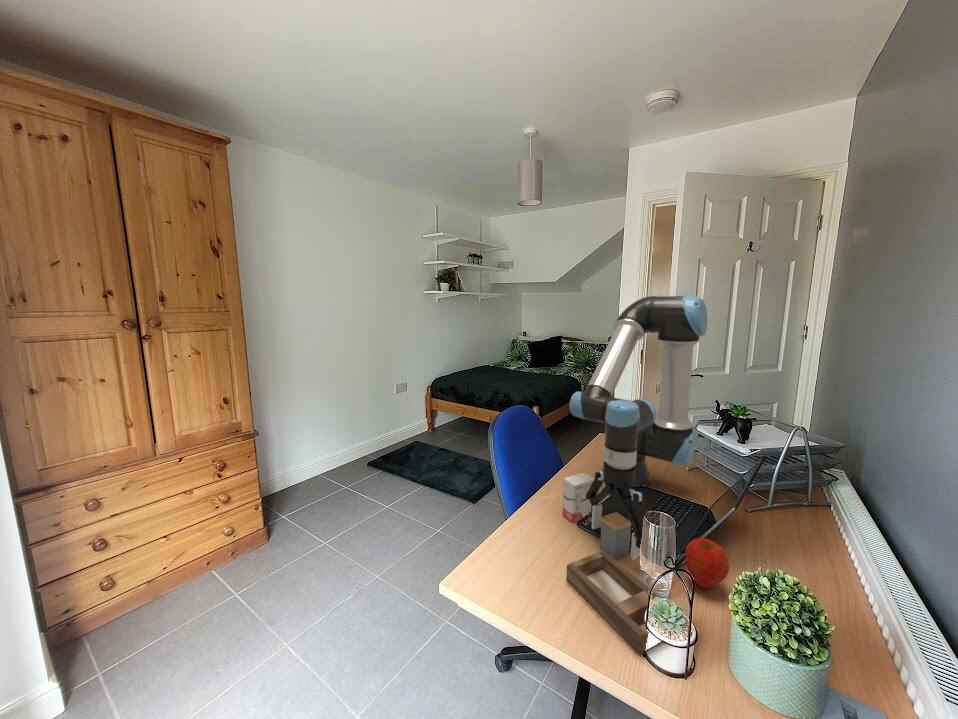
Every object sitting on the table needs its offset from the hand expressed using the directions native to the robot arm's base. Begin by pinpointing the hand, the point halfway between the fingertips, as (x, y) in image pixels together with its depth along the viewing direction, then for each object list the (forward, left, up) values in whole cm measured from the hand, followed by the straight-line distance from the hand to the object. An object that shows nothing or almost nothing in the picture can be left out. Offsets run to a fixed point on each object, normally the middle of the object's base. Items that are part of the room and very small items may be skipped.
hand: (614, 541), depth 98 cm
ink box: (-3, -17, -3) cm, 18 cm away
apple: (-9, +18, -3) cm, 20 cm away
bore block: (+12, +13, -3) cm, 18 cm away
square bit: (0, 0, -3) cm, 3 cm away
